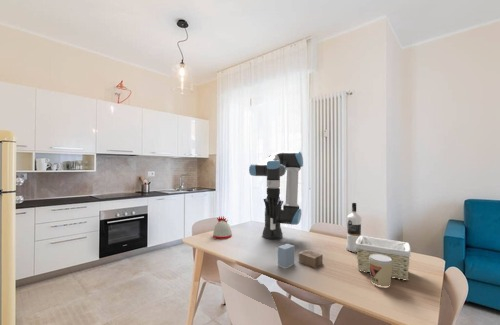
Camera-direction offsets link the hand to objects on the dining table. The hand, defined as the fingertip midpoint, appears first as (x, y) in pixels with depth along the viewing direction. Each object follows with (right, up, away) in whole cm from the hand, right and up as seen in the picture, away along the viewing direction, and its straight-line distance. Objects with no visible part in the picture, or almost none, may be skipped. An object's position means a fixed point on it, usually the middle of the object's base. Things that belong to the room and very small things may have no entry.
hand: (272, 229), depth 135 cm
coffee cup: (+47, -18, -27) cm, 56 cm away
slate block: (+7, -17, -7) cm, 20 cm away
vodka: (+53, -18, +16) cm, 58 cm away
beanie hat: (-34, -18, +43) cm, 58 cm away
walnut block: (+17, -15, 0) cm, 23 cm away
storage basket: (+55, -18, -13) cm, 59 cm away
